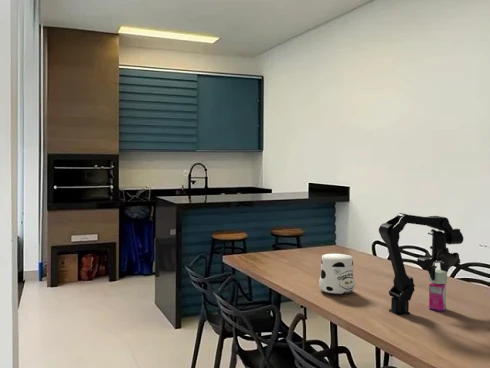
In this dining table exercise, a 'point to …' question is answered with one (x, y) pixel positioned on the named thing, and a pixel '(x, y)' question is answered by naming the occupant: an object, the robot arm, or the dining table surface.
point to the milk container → (337, 274)
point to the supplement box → (437, 297)
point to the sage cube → (440, 277)
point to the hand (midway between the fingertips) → (438, 280)
